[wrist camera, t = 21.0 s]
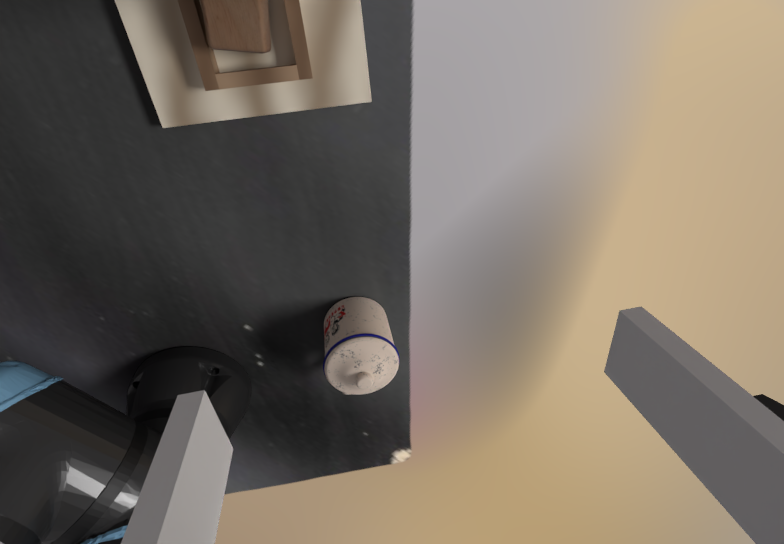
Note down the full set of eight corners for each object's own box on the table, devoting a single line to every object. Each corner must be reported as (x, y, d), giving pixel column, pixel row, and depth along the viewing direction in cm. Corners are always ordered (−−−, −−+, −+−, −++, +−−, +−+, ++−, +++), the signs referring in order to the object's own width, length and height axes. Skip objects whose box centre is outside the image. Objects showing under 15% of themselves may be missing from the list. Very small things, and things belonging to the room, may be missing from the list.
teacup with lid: (330, 288, 51) (334, 348, 41) (396, 299, 54) (415, 358, 44) (311, 358, 56) (310, 426, 46) (372, 365, 59) (384, 431, 49)
